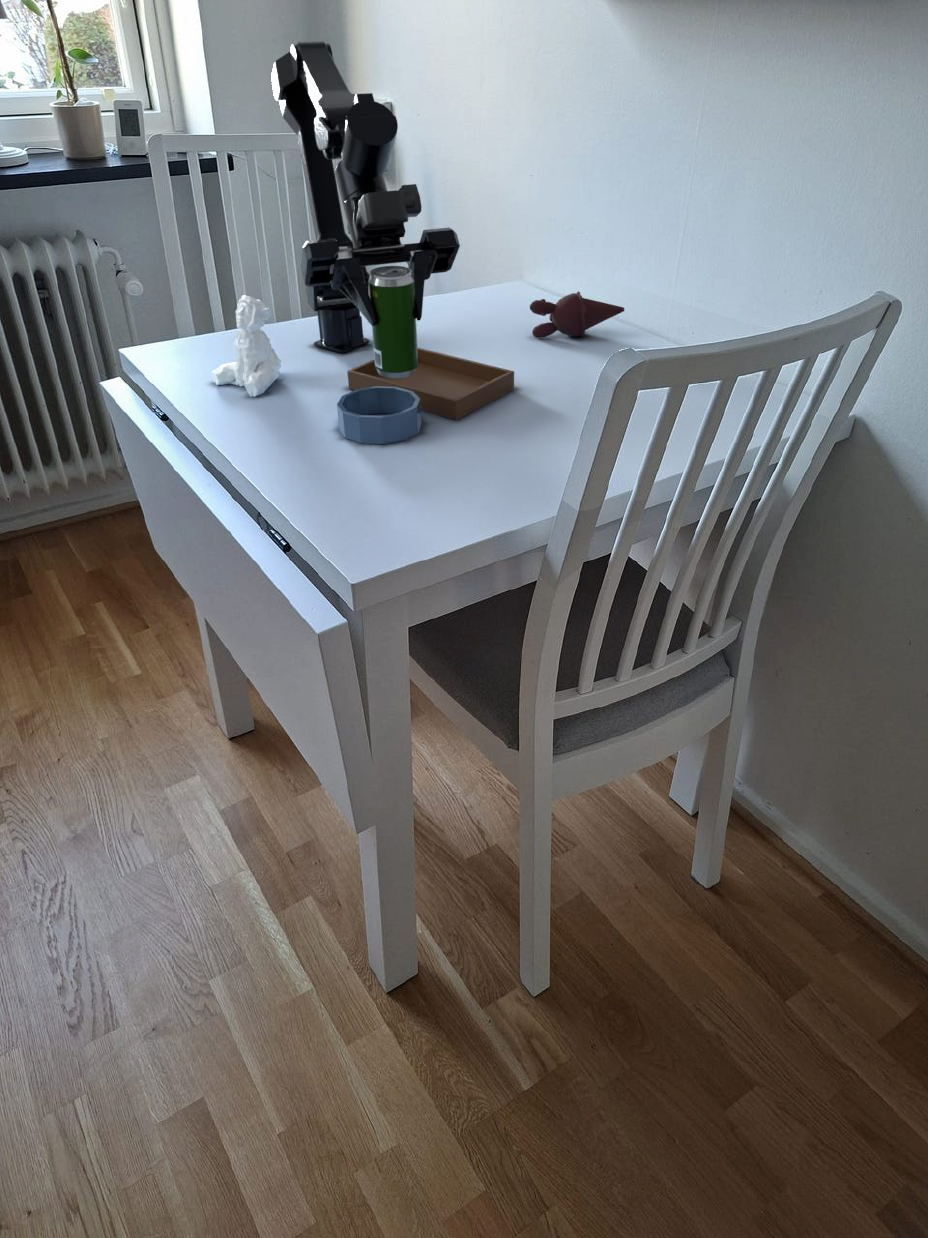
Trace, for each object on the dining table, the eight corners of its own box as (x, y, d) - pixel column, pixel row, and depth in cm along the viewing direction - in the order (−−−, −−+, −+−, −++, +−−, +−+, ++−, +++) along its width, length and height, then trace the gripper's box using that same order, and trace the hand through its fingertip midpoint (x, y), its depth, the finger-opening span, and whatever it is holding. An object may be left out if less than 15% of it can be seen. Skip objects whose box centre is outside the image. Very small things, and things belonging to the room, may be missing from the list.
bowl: (324, 431, 110) (321, 404, 108) (377, 405, 117) (375, 380, 115) (384, 451, 105) (382, 424, 103) (436, 423, 112) (435, 397, 110)
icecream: (618, 285, 140) (526, 296, 140) (628, 285, 133) (531, 297, 133) (620, 330, 142) (530, 341, 142) (630, 332, 135) (535, 344, 135)
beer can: (391, 382, 106) (385, 280, 99) (367, 369, 109) (359, 270, 102) (426, 371, 108) (423, 271, 101) (402, 359, 112) (396, 262, 105)
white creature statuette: (210, 383, 124) (193, 298, 117) (255, 366, 130) (242, 283, 123) (254, 398, 120) (240, 309, 113) (299, 379, 125) (288, 294, 118)
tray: (348, 388, 122) (347, 370, 121) (409, 361, 131) (408, 344, 129) (456, 420, 113) (456, 401, 111) (514, 389, 121) (514, 371, 120)
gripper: (293, 163, 95) (325, 294, 94) (453, 152, 100) (486, 276, 99) (289, 225, 106) (318, 343, 104) (434, 212, 111) (464, 324, 109)
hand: (396, 321), depth 104 cm, fingers closed on beer can, 5 cm apart
